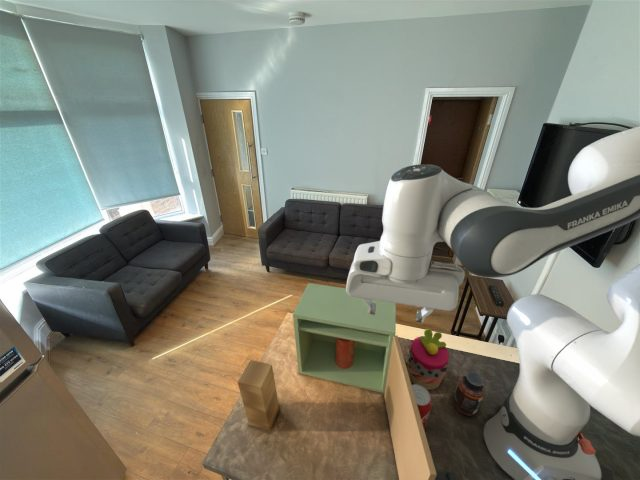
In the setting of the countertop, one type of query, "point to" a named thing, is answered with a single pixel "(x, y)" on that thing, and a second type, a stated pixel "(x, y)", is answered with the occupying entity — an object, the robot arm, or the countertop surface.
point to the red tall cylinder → (344, 352)
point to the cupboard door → (407, 424)
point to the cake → (427, 360)
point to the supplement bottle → (469, 393)
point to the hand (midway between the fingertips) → (395, 316)
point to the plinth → (259, 394)
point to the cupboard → (343, 336)
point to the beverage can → (422, 402)
